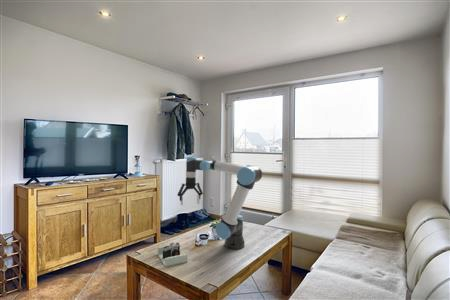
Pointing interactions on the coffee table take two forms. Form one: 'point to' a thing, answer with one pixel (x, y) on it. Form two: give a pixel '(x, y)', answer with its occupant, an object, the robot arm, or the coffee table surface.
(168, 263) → the u cradle
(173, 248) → the camera
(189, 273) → the coffee table surface
